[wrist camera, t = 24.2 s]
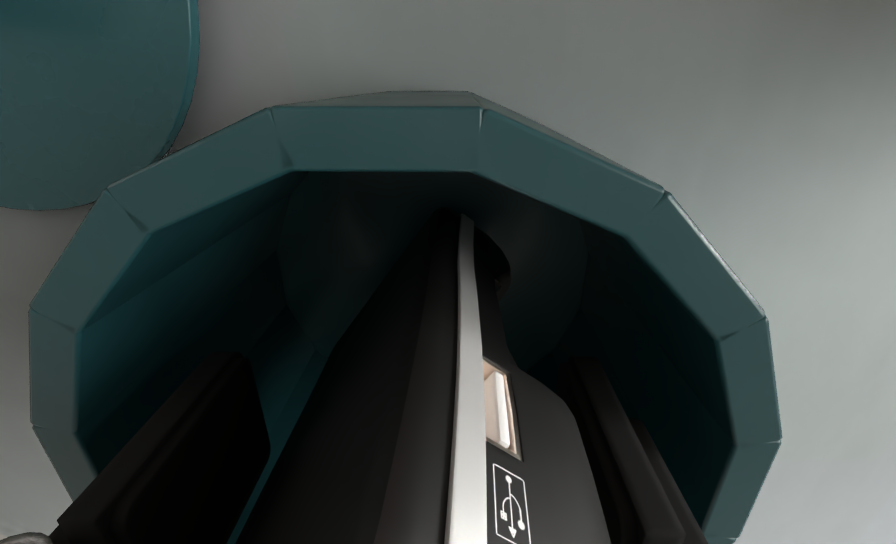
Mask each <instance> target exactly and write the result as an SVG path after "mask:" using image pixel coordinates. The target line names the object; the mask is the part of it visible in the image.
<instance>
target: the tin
mask: <svg viewBox="0 0 896 544" xmlns="http://www.w3.org/2000/svg"><path fill="white" fill-rule="evenodd" d="M441 207H448V208H450V209H452V210H453V211H455V212H456V213H458V214H459V215H461V214H462V213H463V214H464V215H466V216H467V217H469V218H470V219H471V220H473V221H474V226H476V227H477V228H479V229H480V230H481V231H483V232H484V233H486V234H487V235H488V236H490V237H491V239H492V240H493V241H494V242H495V243H496V244H497V245H498V246H499V247H500V248H501V250H502V251H503V253H504V255H505V256H506V258H507V260H508V262H509V264H510V268H511V284H510V286H509V288H508V290H507V292H506V293H505V294H504V296H503V297H502V298H501V300H500V301H499V302H498V303H499V307H500V312H501V318H502V322H503V328H504V333H505V338H506V343H507V347H508V349H509V351H510V353H511V355H512V357H513V359H514V361H515V362H516V364H517V366H518V368H519V369H521V370H522V371H524V372H525V373H527V374H528V375H530V376H532V377H533V378H535V379H536V380H538V381H539V382H541V383H542V384H544V385H545V386H546V387H548V388H549V389H550V390H551V391H553V392H554V393H555V394H556V388H557V381H558V374H559V367H560V364H561V363H568V359H569V357H570V356H595V357H597V358H598V360H599V362H600V364H601V366H602V368H603V370H604V372H605V374H606V376H607V378H608V380H609V382H610V384H611V386H612V388H613V390H614V392H615V394H616V396H617V398H618V400H619V401H620V403H621V405H622V407H623V409H624V411H625V413H626V415H627V417H628V418H638V419H639V420H641V421H642V423H643V424H644V426H645V427H646V429H647V431H648V433H649V434H650V436H651V438H652V440H653V442H654V444H655V446H656V447H657V449H658V451H659V453H660V455H661V457H662V459H663V460H664V462H665V464H666V466H667V468H668V470H669V471H670V473H671V475H672V477H673V479H674V481H675V483H676V484H677V486H678V488H679V490H680V492H681V494H682V496H683V497H684V499H685V501H686V503H687V505H688V507H689V509H690V510H691V512H692V514H693V516H694V518H695V520H696V521H697V523H698V525H699V527H700V529H701V531H702V533H703V534H704V536H705V538H706V540H707V542H708V544H733V543H734V542H735V541H736V538H738V537H739V536H740V534H741V532H742V530H743V527H744V525H745V523H746V521H747V519H748V516H749V514H750V512H751V510H752V507H753V505H754V503H755V501H756V498H757V496H758V494H759V492H760V490H761V487H762V485H763V483H764V481H765V478H766V476H767V474H768V472H769V469H770V467H771V465H772V463H773V461H774V458H775V456H776V454H777V452H778V449H779V447H780V445H781V440H780V439H781V438H782V430H781V422H780V414H779V406H778V397H777V389H776V381H775V372H774V364H773V356H772V347H771V339H770V331H769V322H768V318H767V317H766V316H765V312H764V310H763V308H762V307H761V306H760V305H759V303H758V302H757V301H756V300H755V298H754V297H753V296H752V295H751V293H750V292H749V291H748V290H747V288H746V287H745V286H744V285H743V283H742V282H741V281H740V280H739V278H738V277H737V276H736V275H735V273H734V272H733V271H732V270H731V268H730V267H729V266H728V265H727V263H726V262H725V261H724V260H723V258H722V257H721V256H720V255H719V253H718V252H717V251H716V249H715V248H714V247H713V246H712V244H711V243H710V242H709V241H708V239H707V238H706V237H705V236H704V234H703V233H702V232H701V231H700V229H699V228H698V227H697V226H696V224H695V223H694V222H693V221H692V219H691V218H690V217H689V216H688V214H687V213H686V212H685V211H684V209H683V208H682V207H681V206H680V204H679V203H678V202H677V201H676V199H675V198H674V197H673V196H672V194H671V193H669V192H668V191H666V190H664V188H663V187H662V186H660V185H659V184H657V183H655V182H653V181H651V180H649V179H647V178H645V177H643V176H641V175H639V174H637V173H635V172H633V171H631V170H630V169H628V168H626V167H624V166H622V165H620V164H618V163H616V162H614V161H612V160H610V159H608V158H606V157H604V156H602V155H600V154H599V153H597V152H595V151H593V150H591V149H589V148H587V147H585V146H583V145H581V144H579V143H577V142H575V141H573V140H571V139H570V138H568V137H566V136H564V135H562V134H560V133H558V132H556V131H554V130H552V129H550V128H548V127H546V126H544V125H542V124H540V123H538V122H536V121H534V120H532V119H529V118H527V117H525V116H523V115H520V114H518V113H516V112H514V111H512V110H509V109H507V108H505V107H503V106H501V105H498V104H496V103H494V102H492V101H490V100H487V99H485V98H483V97H481V96H479V95H476V94H474V93H472V92H470V93H469V92H468V91H388V92H380V93H372V94H364V95H356V96H348V97H340V98H332V99H325V100H317V101H309V102H301V103H293V104H285V105H277V106H273V107H269V108H265V109H263V110H261V111H259V112H256V113H254V114H252V115H250V116H248V117H246V118H244V119H242V120H240V121H238V122H236V123H234V124H232V125H230V126H228V127H226V128H224V129H222V130H220V131H217V132H215V133H213V134H211V135H209V136H207V137H205V138H203V139H201V140H199V141H197V142H195V143H193V144H191V145H189V146H187V147H185V148H183V149H181V150H178V151H176V152H174V153H172V154H170V155H168V156H166V157H164V158H162V159H160V160H158V161H156V162H154V163H152V164H150V165H148V166H146V167H144V168H142V169H139V170H137V171H135V172H133V173H131V174H129V175H127V176H125V177H123V178H121V179H119V180H117V181H115V182H113V183H111V184H109V185H108V187H107V188H105V189H103V191H102V192H101V194H100V195H99V197H98V198H97V200H96V202H95V203H94V205H93V206H92V208H91V209H90V211H89V212H88V214H87V216H86V217H85V219H84V220H83V222H82V223H81V225H80V226H79V228H78V230H77V231H76V233H75V234H74V236H73V237H72V239H71V241H70V242H69V244H68V245H67V247H66V248H65V250H64V251H63V253H62V255H61V256H60V258H59V259H58V261H57V262H56V264H55V265H54V267H53V269H52V270H51V272H50V273H49V275H48V276H47V278H46V280H45V281H44V283H43V284H42V286H41V287H40V289H39V290H38V292H37V294H36V295H35V297H34V298H33V300H32V301H31V303H30V304H29V306H30V309H29V311H28V313H29V365H30V418H31V423H32V424H33V427H32V428H33V430H34V432H35V434H36V435H37V437H38V439H39V441H40V443H41V445H42V446H43V448H44V450H45V452H46V454H47V455H48V457H49V459H50V461H51V463H52V464H53V466H54V468H55V470H56V472H57V474H58V475H59V477H60V479H61V481H62V483H63V484H64V486H65V488H66V490H67V492H68V493H69V495H70V497H71V499H72V501H73V502H74V501H75V500H76V499H77V498H78V496H79V495H80V494H81V493H82V492H83V491H84V490H85V489H86V488H87V487H88V486H89V484H90V483H91V482H92V481H93V480H94V479H95V478H96V477H97V476H98V475H99V474H100V472H101V471H102V470H103V469H104V468H105V467H106V466H107V465H108V464H109V463H110V462H111V460H112V459H113V458H114V457H115V456H116V455H117V454H118V453H119V452H120V451H121V450H122V448H123V447H124V446H125V445H126V444H127V443H128V442H129V441H130V440H131V439H132V437H133V436H134V435H135V434H136V433H137V432H138V431H139V430H140V429H141V428H142V427H143V425H144V424H145V423H146V422H147V421H148V420H149V419H150V418H151V417H152V416H153V415H154V413H155V412H156V411H157V410H158V409H159V408H160V407H161V406H162V405H163V404H164V403H165V401H166V400H167V399H168V398H169V397H170V396H171V395H172V394H173V393H174V392H175V391H176V389H177V388H178V387H179V386H180V385H181V384H182V383H183V382H184V381H185V380H186V379H187V377H188V376H189V375H190V374H191V373H192V372H193V371H194V370H195V369H196V368H197V367H198V365H199V364H200V363H201V362H202V361H203V360H204V359H205V358H206V357H207V356H208V355H209V354H210V353H211V352H240V353H241V354H242V355H243V357H244V358H247V359H249V361H250V363H251V366H252V370H253V374H254V378H255V382H256V386H257V391H258V395H259V399H260V403H261V407H262V411H263V415H264V419H265V423H266V428H267V432H268V436H269V440H270V445H271V451H270V456H269V460H268V462H267V464H266V466H265V468H264V470H263V472H262V474H261V476H260V478H259V480H258V482H257V484H256V486H255V488H254V490H253V492H252V494H251V496H250V498H249V500H248V502H247V504H246V506H245V508H244V510H243V512H242V514H241V516H240V518H239V520H238V522H237V524H236V526H235V528H234V530H233V532H232V534H231V536H230V538H229V540H228V542H227V544H235V543H236V541H237V539H238V537H239V535H240V533H241V531H242V529H243V527H244V525H245V523H246V521H247V519H248V517H249V515H250V513H251V511H252V509H253V507H254V505H255V503H256V501H257V499H258V497H259V495H260V493H261V491H262V489H263V487H264V485H265V483H266V481H267V479H268V477H269V475H270V473H271V471H272V469H273V468H274V466H275V464H276V462H277V460H278V458H279V456H280V454H281V452H282V450H283V448H284V446H285V444H286V442H287V440H288V438H289V436H290V434H291V432H292V430H293V428H294V426H295V424H296V422H297V420H298V418H299V416H300V414H301V413H302V411H303V409H304V407H305V405H306V403H307V401H308V399H309V397H310V395H311V393H312V391H313V389H314V386H315V384H316V382H317V380H318V378H319V376H320V374H321V372H322V370H323V368H324V366H325V364H326V362H327V360H328V358H329V356H330V354H331V352H332V350H333V348H334V346H335V345H336V343H337V342H338V341H339V339H340V338H341V337H342V335H343V334H344V333H345V331H346V330H347V328H348V327H349V326H350V324H351V323H352V322H353V320H354V319H355V318H356V316H357V315H358V314H359V312H360V311H361V309H362V308H363V307H364V305H365V304H366V303H367V301H368V300H369V299H370V297H371V296H372V295H373V293H374V292H375V291H376V289H377V288H378V286H379V285H380V284H381V282H382V281H383V280H384V278H385V277H386V276H387V274H388V273H389V272H390V270H391V269H392V268H393V266H394V265H395V264H396V262H397V261H398V260H399V258H400V257H401V256H402V254H403V253H404V251H405V250H406V249H407V247H408V246H409V245H410V243H411V242H412V241H413V239H414V238H415V237H416V235H417V234H418V233H419V231H420V230H421V229H422V227H423V226H424V225H425V223H426V222H427V221H428V219H429V218H430V217H431V215H432V214H433V213H434V212H435V211H436V210H437V209H439V208H441Z"/></svg>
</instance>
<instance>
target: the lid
mask: <svg viewBox="0 0 896 544" xmlns="http://www.w3.org/2000/svg"><path fill="white" fill-rule="evenodd" d="M199 44H200V35H199V13H198V2H197V0H0V207H6V208H11V209H23V210H38V211H42V210H58V209H67V208H72V207H77V206H82V205H87V204H90V203H93V202H96V200H97V198H98V197H99V195H100V194H101V192H102V191H103V189H105V188H107V187H108V185H109V184H111V183H113V182H115V181H117V180H119V179H121V178H123V177H125V176H127V175H129V174H131V173H133V172H135V171H137V170H139V169H142V168H144V167H146V166H148V165H150V164H152V163H154V162H156V161H158V160H160V159H161V158H162V157H163V156H164V155H165V153H166V152H167V151H168V150H169V149H170V147H171V145H172V143H173V141H174V140H175V138H176V136H177V134H178V133H179V131H180V129H181V127H182V125H183V122H184V120H185V117H186V114H187V112H188V109H189V106H190V103H191V101H192V96H193V91H194V86H195V82H196V77H197V71H198V58H199Z"/></svg>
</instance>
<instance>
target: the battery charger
mask: <svg viewBox="0 0 896 544" xmlns="http://www.w3.org/2000/svg"><path fill="white" fill-rule="evenodd" d="M510 284H511V268H510V264H509V262H508V260H507V258H506V256H505V255H504V253H503V251H502V250H501V248H500V247H499V246H498V245H497V244H496V243H495V242H494V241H493V240H492V239H491V237H490V236H488V235H487V234H486V233H484V232H483V231H481V230H480V229H479V228H477V227H476V226H474V221H473V220H471V219H470V218H469V217H467V216H466V215H464V214H463V213H462V214H461V215H459V214H458V213H456V212H455V211H453V210H452V209H450V208H448V207H441V208H439V209H437V210H436V211H435V212H434V213H433V214H432V215H431V217H430V218H429V219H428V221H427V222H426V223H425V225H424V226H423V227H422V229H421V230H420V231H419V233H418V234H417V235H416V237H415V238H414V239H413V241H412V242H411V243H410V245H409V246H408V247H407V249H406V250H405V251H404V253H403V254H402V256H401V257H400V258H399V260H398V261H397V262H396V264H395V265H394V266H393V268H392V269H391V270H390V272H389V273H388V274H387V276H386V277H385V278H384V280H383V281H382V282H381V284H380V285H379V286H378V288H377V289H376V291H375V292H374V293H373V295H372V296H371V297H370V299H369V300H368V301H367V303H366V304H365V305H364V307H363V308H362V309H361V311H360V312H359V314H358V315H357V316H356V318H355V319H354V320H353V322H352V323H351V324H350V326H349V327H348V328H347V330H346V331H345V333H344V334H343V335H342V337H341V338H340V339H339V341H338V342H337V343H336V345H335V346H334V348H333V350H332V352H331V354H330V356H329V358H328V360H327V362H326V364H325V366H324V368H323V370H322V372H321V374H320V376H319V378H318V380H317V382H316V384H315V386H314V389H313V391H312V393H311V395H310V397H309V399H308V401H307V403H306V405H305V407H304V409H303V411H302V413H301V414H300V416H299V418H298V420H297V422H296V424H295V426H294V428H293V430H292V432H291V434H290V436H289V438H288V440H287V442H286V444H285V446H284V448H283V450H282V452H281V454H280V456H279V458H278V460H277V462H276V464H275V466H274V468H273V469H272V471H271V473H270V475H269V477H268V479H267V481H266V483H265V485H264V487H263V489H262V491H261V493H260V495H259V497H258V499H257V501H256V503H255V505H254V507H253V509H252V511H251V513H250V515H249V517H248V519H247V521H246V523H245V525H244V527H243V529H242V531H241V533H240V535H239V537H238V539H237V541H236V543H235V544H611V541H610V537H609V533H608V529H607V525H606V521H605V518H604V514H603V510H602V507H601V503H600V499H599V496H598V492H597V489H596V485H595V481H594V478H593V474H592V471H591V468H590V464H589V461H588V458H587V455H586V451H585V448H584V445H583V442H582V439H581V435H580V432H579V429H578V426H577V423H576V420H575V417H574V416H573V414H572V412H571V411H570V409H569V408H568V406H567V405H566V403H565V402H564V400H562V399H561V398H560V397H559V396H558V395H556V394H555V393H554V392H553V391H551V390H550V389H549V388H548V387H546V386H545V385H544V384H542V383H541V382H539V381H538V380H536V379H535V378H533V377H532V376H530V375H528V374H527V373H525V372H524V371H522V370H521V369H519V368H518V366H517V364H516V362H515V361H514V359H513V357H512V355H511V353H510V351H509V349H508V347H507V343H506V338H505V333H504V328H503V322H502V318H501V312H500V307H499V303H498V302H499V301H500V300H501V298H502V297H503V296H504V294H505V293H506V292H507V290H508V288H509V286H510Z"/></svg>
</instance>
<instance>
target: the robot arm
mask: <svg viewBox="0 0 896 544" xmlns="http://www.w3.org/2000/svg"><path fill="white" fill-rule="evenodd" d="M556 395H558V396H559V397H560V398H561V399H562V400H564V402H565V403H566V405H567V406H568V408H569V409H570V411H571V412H572V414H573V416H574V417H575V420H576V423H577V426H578V429H579V432H580V435H581V439H582V442H583V445H584V448H585V451H586V455H587V458H588V461H589V464H590V468H591V471H592V474H593V478H594V481H595V485H596V489H597V492H598V496H599V499H600V503H601V507H602V510H603V514H604V518H605V521H606V525H607V529H608V533H609V537H610V541H611V544H708V542H707V540H706V538H705V536H704V534H703V533H702V531H701V529H700V527H699V525H698V523H697V521H696V520H695V518H694V516H693V514H692V512H691V510H690V509H689V507H688V505H687V503H686V501H685V499H684V497H683V496H682V494H681V492H680V490H679V488H678V486H677V484H676V483H675V481H674V479H673V477H672V475H671V473H670V471H669V470H668V468H667V466H666V464H665V462H664V460H663V459H662V457H661V455H660V453H659V451H658V449H657V447H656V446H655V444H654V442H653V440H652V438H651V436H650V434H649V433H648V431H647V429H646V427H645V426H644V424H643V423H642V421H641V420H639V419H638V418H628V417H627V415H626V413H625V411H624V409H623V407H622V405H621V403H620V401H619V400H618V398H617V396H616V394H615V392H614V390H613V388H612V386H611V384H610V382H609V380H608V378H607V376H606V374H605V372H604V370H603V368H602V366H601V364H600V362H599V360H598V358H597V357H595V356H570V357H569V359H568V363H561V364H560V367H559V374H558V381H557V388H556ZM270 451H271V445H270V440H269V436H268V432H267V428H266V423H265V419H264V415H263V411H262V407H261V403H260V399H259V395H258V391H257V386H256V382H255V378H254V374H253V370H252V366H251V363H250V361H249V359H247V358H244V357H243V355H242V354H241V353H240V352H211V353H210V354H209V355H208V356H207V357H206V358H205V359H204V360H203V361H202V362H201V363H200V364H199V365H198V367H197V368H196V369H195V370H194V371H193V372H192V373H191V374H190V375H189V376H188V377H187V379H186V380H185V381H184V382H183V383H182V384H181V385H180V386H179V387H178V388H177V389H176V391H175V392H174V393H173V394H172V395H171V396H170V397H169V398H168V399H167V400H166V401H165V403H164V404H163V405H162V406H161V407H160V408H159V409H158V410H157V411H156V412H155V413H154V415H153V416H152V417H151V418H150V419H149V420H148V421H147V422H146V423H145V424H144V425H143V427H142V428H141V429H140V430H139V431H138V432H137V433H136V434H135V435H134V436H133V437H132V439H131V440H130V441H129V442H128V443H127V444H126V445H125V446H124V447H123V448H122V450H121V451H120V452H119V453H118V454H117V455H116V456H115V457H114V458H113V459H112V460H111V462H110V463H109V464H108V465H107V466H106V467H105V468H104V469H103V470H102V471H101V472H100V474H99V475H98V476H97V477H96V478H95V479H94V480H93V481H92V482H91V483H90V484H89V486H88V487H87V488H86V489H85V490H84V491H83V492H82V493H81V494H80V495H79V496H78V498H77V499H76V500H75V501H74V502H73V503H72V504H71V505H70V506H69V507H68V508H67V510H66V511H65V512H64V513H63V514H62V515H61V516H60V517H59V518H58V519H57V522H58V523H59V526H58V527H57V528H56V529H55V530H54V531H53V532H52V533H51V534H50V536H49V537H48V536H47V535H45V534H43V533H32V532H27V533H23V534H18V535H14V536H10V537H7V538H5V539H3V540H0V544H227V542H228V540H229V538H230V536H231V534H232V532H233V530H234V528H235V526H236V524H237V522H238V520H239V518H240V516H241V514H242V512H243V510H244V508H245V506H246V504H247V502H248V500H249V498H250V496H251V494H252V492H253V490H254V488H255V486H256V484H257V482H258V480H259V478H260V476H261V474H262V472H263V470H264V468H265V466H266V464H267V462H268V460H269V456H270Z"/></svg>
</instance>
